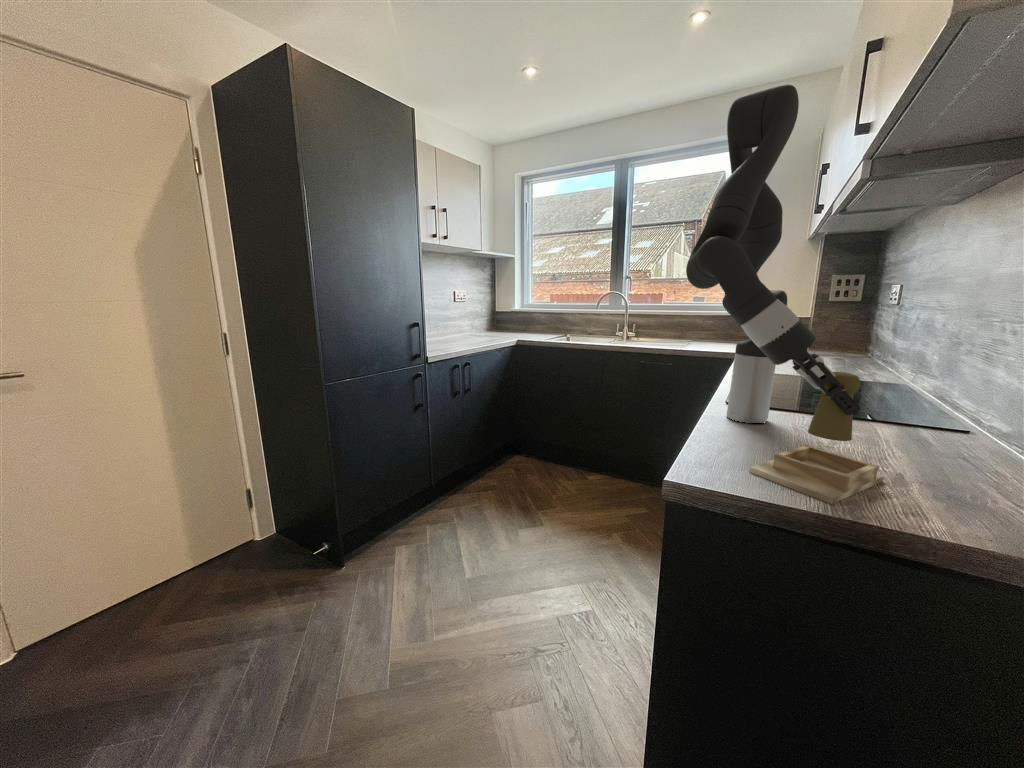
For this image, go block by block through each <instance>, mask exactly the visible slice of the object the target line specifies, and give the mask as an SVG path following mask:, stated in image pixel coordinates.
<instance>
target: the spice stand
mask: <svg viewBox="0 0 1024 768" xmlns="http://www.w3.org/2000/svg"><path fill="white" fill-rule="evenodd" d="M878 470H879V465H876V464H872V463H869V462H867V461H863V460H859V459H857V458H853V457H849V456H846V455H842V454H838V453H835V452H832V451H828V450H824V449H822V448H818V447H815V446H811V445H808V444H805V445H804V446H803V445H802V446H799V447H796V448H793V449H789V450H786V451H781V452H779V453H776V454H774V457H773V459H771V460H768V461H764V462H762V463H757V464H754V465H751V466H749V470H748V471H749V473H751V474H754V475H756V476H759V477H761V478H765V479H767V480H769V481H771V482H775V483H777V484H780V485H782V486H784V487H787V488H790V489H792V490H795V491H797V492H799V493H802V494H805V495H808V496H810V497H812V498H814V499H818V500H820V501H822V500H823V501H822V502H825V503H829V504H831V505H833V504H835V503H838V502H839V501H842V500H844V499H847V498H848V497H849V498H850V497H851V496H853V495H855V494H858V493H860V492H863V491H864V490H867V489H869V488H871V487H873V486H875V485H878V484H880V483H882V482H884V479H885V475H883V474H879V473H878Z"/></svg>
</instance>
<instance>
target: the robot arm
mask: <svg viewBox="0 0 1024 768" xmlns="http://www.w3.org/2000/svg"><path fill="white" fill-rule="evenodd" d="M799 101H800V100H799V93H798V90H797V88H796V87H795V86H794V85H793V84H783V85H778V86H775V87H774V86H773V87H771V88H767V89H764V90H759V91H756V92H753V93H748V94H745V95H743V96H739V97H737V98H736V99H734V100H733V101H732V103H731V105H730V107H729V109H728V115H727V122H726V124H727V125H726V132H727V133H726V136H727V145H728V147H727V148H728V155H729V162H730V164H729V165H730V171H731V174H730V175H729V176H728V177H727V178H726V179H725V180H724V182H723V183H722V185H721V186H720V187H719V188H718V191H717V193H716V194H715V196H714V199H713V201H712V204H711V206H710V208H709V212H708V216H707V218H706V222H705V224H704V227H703V230H702V232H701V234H700V235H699V237H698V239H697V242H696V244H695V245H694V248H693V250H692V251H691V254H690V255H689V258H688V260H687V263H686V268H685V273H686V278H687V280H688V282H689V283H690V284H691V285H692V286H693V287H695V288H697V289H701V290H706V289H711V288H714V287H715V286H717V285H719V286H720V287H721V289H722V290H723V292H724V296H723V298H722V304H721V305H722V306H723V308H724V310H725V311H726V312H727V313H728V314H729V316H731V317H732V318H733V319H734V322H735V323H736V325H737V326H739V327H741V329H742V330H743V331H744V333H745V334H746V335H747V337H748V338H749V339H746V340H741V341H739V342H737V343H736V346H735V353H734V360H733V366H732V373H731V381H730V389H729V394H728V395H729V396H728V402H727V403H728V404H727V410H726V415H727V416H726V418H727V417H728V418H727V419H729V418H730V419H729V420H731V419H732V420H731V421H734V420H735V421H734V422H737V421H739V422H738V423H742V422H745V423H744V424H748V423H764V422H766V421H768V420H769V415H770V414H769V413H770V407H771V402H772V395H773V390H774V376H775V372H776V367H777V366H779V365H783V364H785V363H787V362H788V361H792V362H791V363H792V365H793V366H791V367H792V369H793V371H795V372H796V373H797V374H798V375H799V376H801V377H802V378H804V379H805V381H806V382H807V383H809V384H810V385H811V386H812V387H813V388H814V389H817V390H818V391H820V392H822V391H823V392H824V393H825V396H826V397H827V398H828V397H829V398H830V399H831V400H832V401H833V402H834V403H835V404H836V405H837V406H838V407H839V408H840V409H841V410H842V411H843V412H844V413H845V414H846V415H851V414H853V415H854V413H857V412H858V411H860V410H861V406H860V405H859V404H858V403H857V402H856V401H855V399H854V398H853V399H852V398H851V397H850V396H849V395H848V394H847V393H846V392H845V391H844V390H845V388H844V387H845V386H844V385H843V384H841V383H840V382H839V381H838V380H837V379H836V378H835V374H834V373H833V372H834V371H832V370H831V368H829V367H828V366H827V365H826V364H825V360H823V358H822V357H821V356H820V355H819V354H816V353H815V352H813V353H809V352H808V348H810V347H812V346H813V345H814V344H815V343H816V341H817V339H818V338H817V335H816V334H815V333H814V332H813V331H812V330H811V329H810V328H809V327H808V326H807V325H806V324H805V322H803V321H802V320H801V318H799V317H798V316H797V315H796V314H795V313H794V312H793V311H792V309H790V308H789V306H788V294H787V293H786V292H785V291H784V290H781V289H775V290H774V289H769V288H768V287H767V286H766V285H765V284H764V283H763V282H762V281H761V280H760V278H759V275H758V273H759V271H760V269H761V268H762V267H763V265H764V264H765V263H766V262H767V260H768V259H769V257H770V256H771V255H772V254H773V252H775V250H776V248H777V247H778V246H779V244H780V242H781V239H782V236H783V234H782V233H783V206H782V204H781V201H780V199H779V198H778V196H777V195H776V194H775V192H774V191H773V190H772V188H771V187H770V185H769V184H768V183H767V182H766V180H767V178H768V177H769V175H770V173H771V172H772V170H773V169H774V166H775V165H776V163H777V161H778V160H779V158H780V155H781V154H782V152H783V150H784V148H785V147H786V145H787V142H788V141H789V139H790V137H791V135H792V133H793V131H794V128H795V125H796V122H797V119H798V118H797V117H798V114H799V107H800V105H799V104H800V103H799ZM753 148H755V149H754V151H753ZM831 381H832V382H833V383H834V384H835V386H833V387H832V388H830V389H828V390H827V389H826V388H825V385H826V384H828V383H830V382H831ZM767 419H768V420H767ZM766 423H767V422H766ZM764 424H765V423H764Z"/></svg>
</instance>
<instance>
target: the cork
mask: <svg viewBox="0 0 1024 768" xmlns="http://www.w3.org/2000/svg"><path fill="white" fill-rule="evenodd" d="M832 372H833V373H834V374H835V378H836V379H837V380H838V381H839V382H840V383H841V384H843V385H844V386H845V387H844V388H845V390H844V391H845V392H846V393H847V394H848V395H849V396H850V397H851V398H852V399H853V400H854V396H855V395H854V394H855V393H857V392H858V391H859V389H860V386H861V380H860V378H859V376H857V375H856V374H853V373H850V372H845V371H832ZM833 386H835V384H834V383H833V382H832V381H831V382H830V383H828V384H826V385H825V388H826V389H827V390H828V389H830V388H832V387H833ZM853 415H854V413H853V414H851V415H846V414H845V413H844V412H843V411H842V410H841V409H840V408H839V407H838V406H837V405H836V404H835V403H834V402H833V401H832V400H831V399H830V398H829V397H828V398H827V397H826V396H825V393H824V392H823V391H821V394H820V397H819V400H818V402H817V405H816V408H815V411H814V414H813V416H812V419H811V421H810V424H809V427H808V429H807V432H808V434H810V435H812V436H813V437H814V436H815V437H818V438H821V439H827V440H830V441H839V442H851V441H852V439H853V422H854V421H853V417H854V416H853Z"/></svg>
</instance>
